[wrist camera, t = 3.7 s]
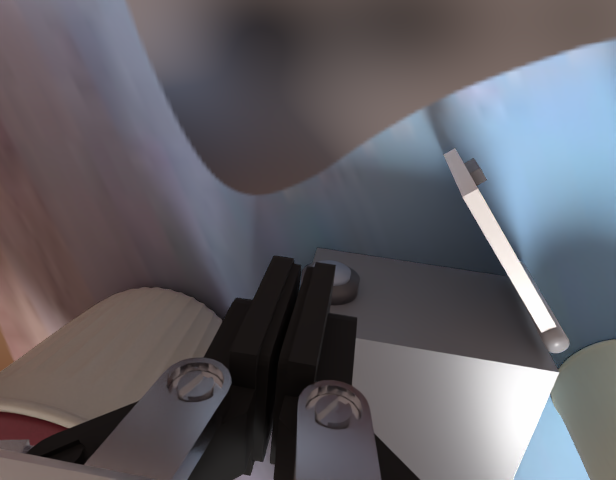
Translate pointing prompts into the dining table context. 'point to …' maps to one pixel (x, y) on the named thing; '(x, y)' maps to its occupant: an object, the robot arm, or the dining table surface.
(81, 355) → the canister
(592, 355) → the can
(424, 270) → the block
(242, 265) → the dining table surface
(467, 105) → the dining table surface
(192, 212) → the dining table surface
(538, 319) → the side door
